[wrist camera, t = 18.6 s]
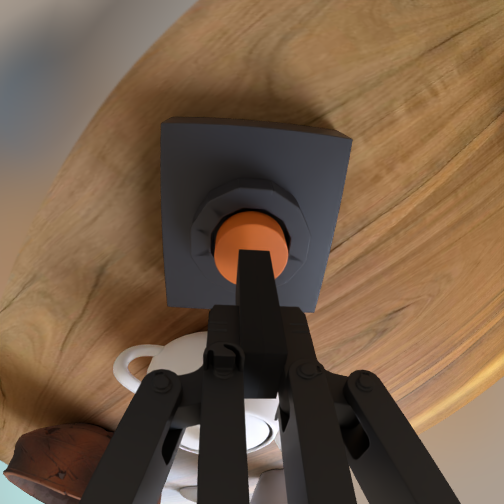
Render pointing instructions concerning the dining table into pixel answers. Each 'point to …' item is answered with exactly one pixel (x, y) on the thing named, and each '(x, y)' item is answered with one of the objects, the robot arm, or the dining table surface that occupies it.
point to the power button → (249, 242)
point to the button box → (248, 201)
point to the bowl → (58, 461)
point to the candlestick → (189, 493)
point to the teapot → (189, 360)
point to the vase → (270, 488)
